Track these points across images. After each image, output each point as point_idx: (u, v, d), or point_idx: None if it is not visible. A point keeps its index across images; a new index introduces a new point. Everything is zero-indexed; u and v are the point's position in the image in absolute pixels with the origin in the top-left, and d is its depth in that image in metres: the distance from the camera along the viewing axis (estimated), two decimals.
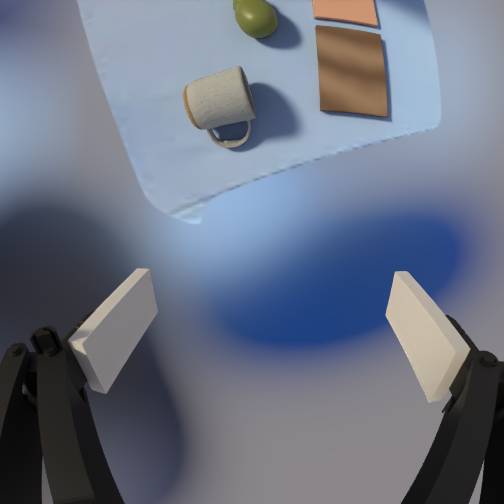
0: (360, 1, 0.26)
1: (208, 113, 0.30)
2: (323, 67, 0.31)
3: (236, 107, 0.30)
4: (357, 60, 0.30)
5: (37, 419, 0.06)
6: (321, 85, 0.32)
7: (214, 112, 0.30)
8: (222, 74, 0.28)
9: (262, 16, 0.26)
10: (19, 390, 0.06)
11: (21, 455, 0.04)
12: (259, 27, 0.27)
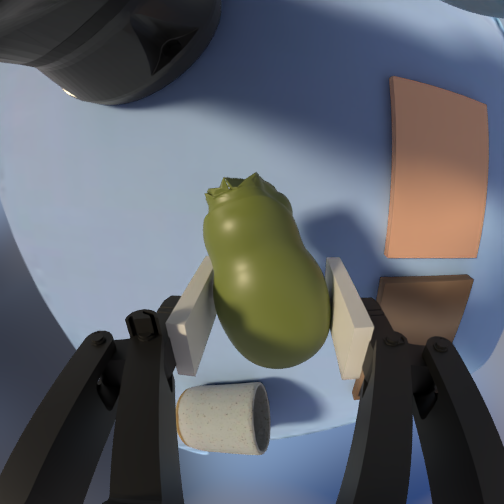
0: (468, 206, 0.17)
1: None
2: None
3: None
4: (425, 334, 0.21)
5: (107, 415, 0.07)
6: (362, 376, 0.23)
7: None
8: (227, 427, 0.20)
9: (293, 356, 0.12)
10: (93, 385, 0.07)
11: (77, 452, 0.05)
12: None
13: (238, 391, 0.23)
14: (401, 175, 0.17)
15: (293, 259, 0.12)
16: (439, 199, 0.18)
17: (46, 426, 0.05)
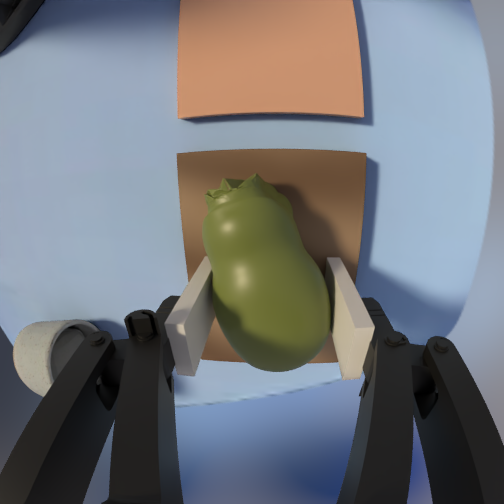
0: (319, 38, 0.11)
1: None
2: None
3: None
4: None
5: (106, 415, 0.07)
6: None
7: None
8: (34, 359, 0.14)
9: (292, 360, 0.12)
10: (93, 385, 0.07)
11: (77, 452, 0.05)
12: None
13: (55, 323, 0.17)
14: (187, 19, 0.11)
15: (293, 262, 0.11)
16: (255, 32, 0.11)
17: (46, 426, 0.05)
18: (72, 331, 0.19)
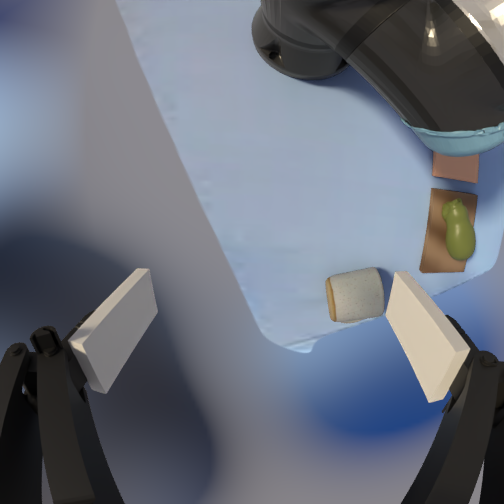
0: None
1: (350, 319, 0.37)
2: (431, 235, 0.37)
3: (372, 316, 0.37)
4: None
5: (37, 419, 0.06)
6: (426, 252, 0.38)
7: (355, 318, 0.37)
8: (367, 288, 0.36)
9: (471, 252, 0.32)
10: (19, 391, 0.06)
11: (21, 455, 0.04)
12: (464, 259, 0.33)
13: (366, 269, 0.38)
14: None
15: (470, 224, 0.32)
16: None
17: None
18: None
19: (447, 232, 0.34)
